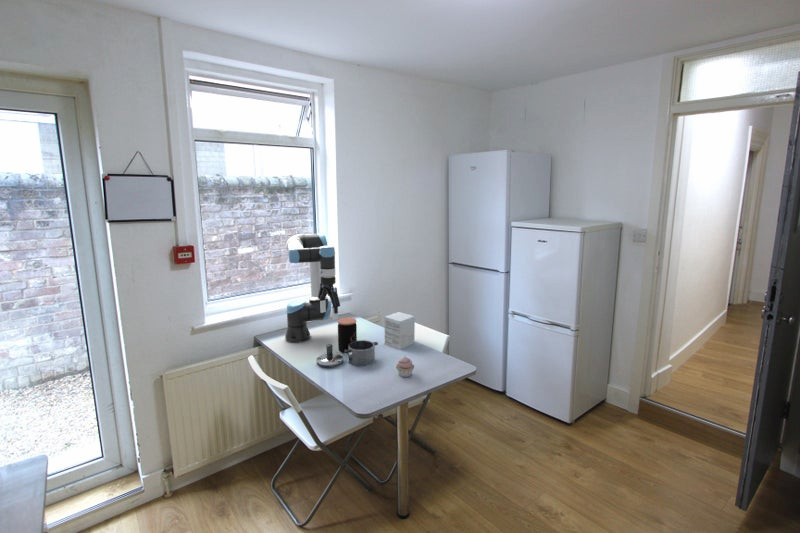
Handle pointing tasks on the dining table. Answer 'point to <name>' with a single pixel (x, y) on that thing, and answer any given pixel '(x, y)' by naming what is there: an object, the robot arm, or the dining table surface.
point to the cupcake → (405, 367)
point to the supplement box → (399, 330)
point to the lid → (329, 358)
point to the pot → (361, 353)
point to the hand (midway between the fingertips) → (329, 315)
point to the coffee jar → (346, 333)
